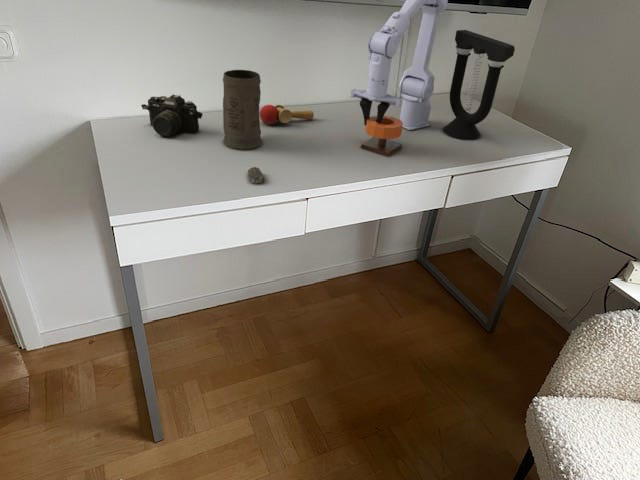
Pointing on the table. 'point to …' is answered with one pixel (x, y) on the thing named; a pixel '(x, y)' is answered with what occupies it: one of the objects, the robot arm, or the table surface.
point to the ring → (384, 127)
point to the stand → (381, 146)
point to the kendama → (282, 114)
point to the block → (255, 175)
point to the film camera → (172, 115)
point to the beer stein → (241, 109)
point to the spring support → (497, 56)
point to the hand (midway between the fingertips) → (371, 125)
